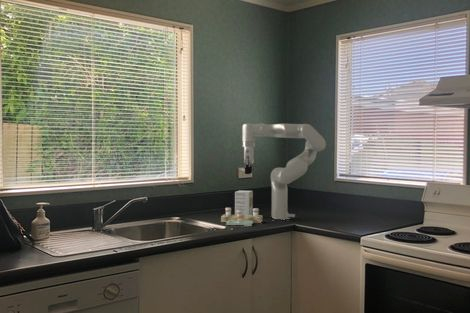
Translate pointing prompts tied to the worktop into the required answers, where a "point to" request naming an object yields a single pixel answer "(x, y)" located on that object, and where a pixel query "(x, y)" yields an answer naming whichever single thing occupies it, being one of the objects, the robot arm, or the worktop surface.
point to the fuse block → (243, 218)
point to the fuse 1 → (228, 211)
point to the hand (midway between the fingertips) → (248, 173)
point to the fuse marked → (239, 216)
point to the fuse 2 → (255, 212)
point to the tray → (234, 222)
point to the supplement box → (244, 202)
